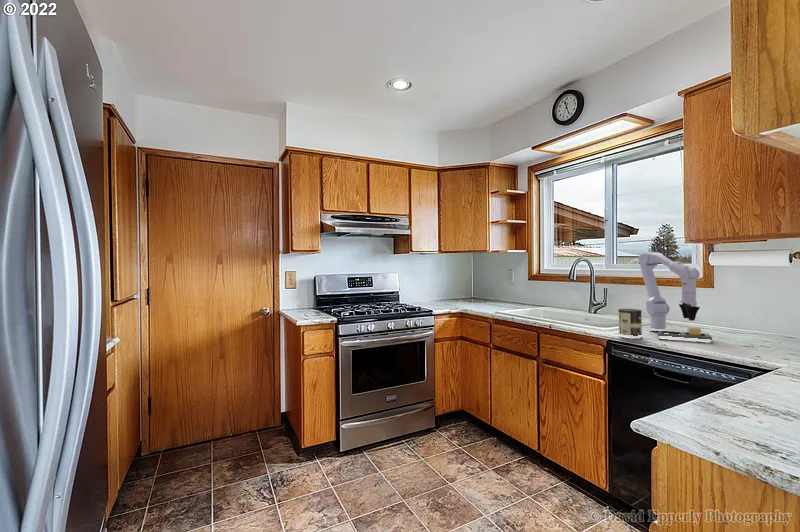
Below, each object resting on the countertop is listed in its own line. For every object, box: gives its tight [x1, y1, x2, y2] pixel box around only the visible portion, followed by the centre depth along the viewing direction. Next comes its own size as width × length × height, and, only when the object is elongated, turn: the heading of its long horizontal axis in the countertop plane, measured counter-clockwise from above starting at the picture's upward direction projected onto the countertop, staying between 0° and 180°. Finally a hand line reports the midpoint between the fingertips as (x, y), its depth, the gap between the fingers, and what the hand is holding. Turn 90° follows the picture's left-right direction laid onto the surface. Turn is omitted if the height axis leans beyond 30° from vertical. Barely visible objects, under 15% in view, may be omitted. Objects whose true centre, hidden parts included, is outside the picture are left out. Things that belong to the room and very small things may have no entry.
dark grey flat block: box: [657, 330, 713, 341], centre depth 189 cm, size 10×20×3 cm, turn 59°
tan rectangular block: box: [686, 326, 702, 336], centre depth 186 cm, size 4×4×6 cm
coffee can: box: [618, 308, 643, 336], centre depth 196 cm, size 10×10×14 cm
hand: (688, 319), depth 193 cm, fingers open, 7 cm apart
